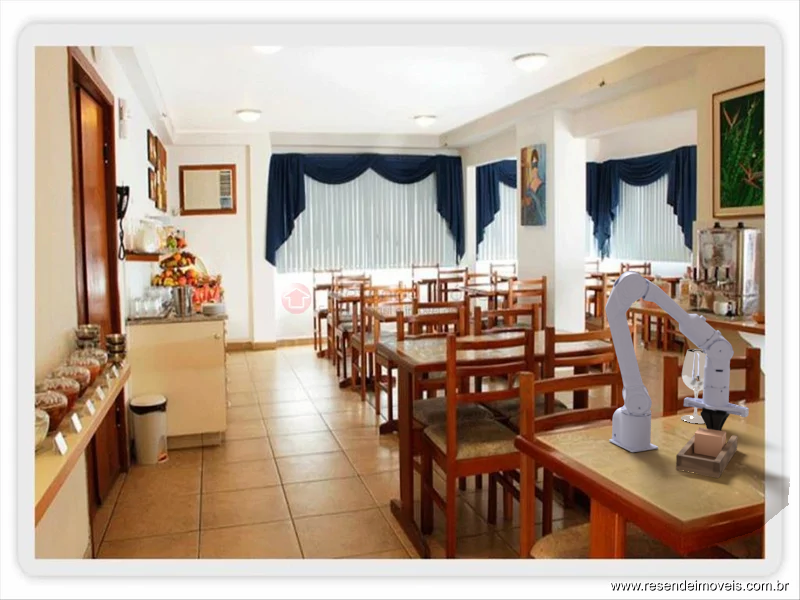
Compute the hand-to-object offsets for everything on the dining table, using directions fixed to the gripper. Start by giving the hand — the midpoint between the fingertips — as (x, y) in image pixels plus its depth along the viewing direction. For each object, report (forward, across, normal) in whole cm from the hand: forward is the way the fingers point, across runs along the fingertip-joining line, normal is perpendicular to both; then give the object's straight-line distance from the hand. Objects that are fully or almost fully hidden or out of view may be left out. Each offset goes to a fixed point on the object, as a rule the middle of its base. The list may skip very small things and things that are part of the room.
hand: (714, 439), depth 165 cm
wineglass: (+3, -13, +23) cm, 27 cm away
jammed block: (+2, +1, -4) cm, 5 cm away
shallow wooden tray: (+3, +1, -6) cm, 7 cm away
